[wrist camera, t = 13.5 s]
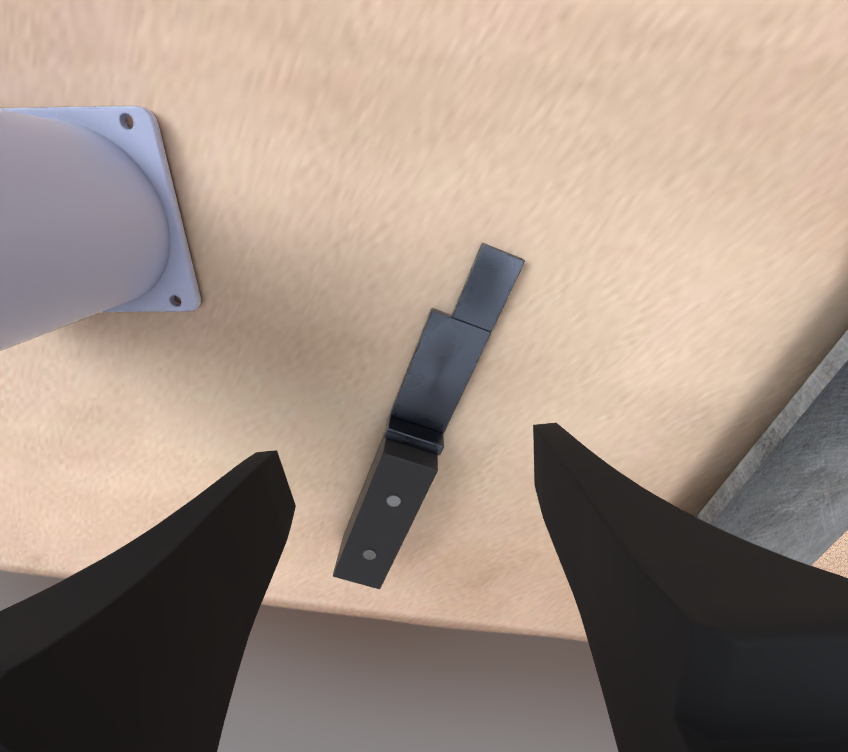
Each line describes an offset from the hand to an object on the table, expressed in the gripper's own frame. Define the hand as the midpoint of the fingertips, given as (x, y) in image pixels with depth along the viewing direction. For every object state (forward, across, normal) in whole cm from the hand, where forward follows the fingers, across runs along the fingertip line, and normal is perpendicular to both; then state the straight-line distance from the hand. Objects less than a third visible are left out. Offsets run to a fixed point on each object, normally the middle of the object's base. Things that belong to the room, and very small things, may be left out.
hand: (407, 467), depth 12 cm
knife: (+9, +1, +4) cm, 10 cm away
